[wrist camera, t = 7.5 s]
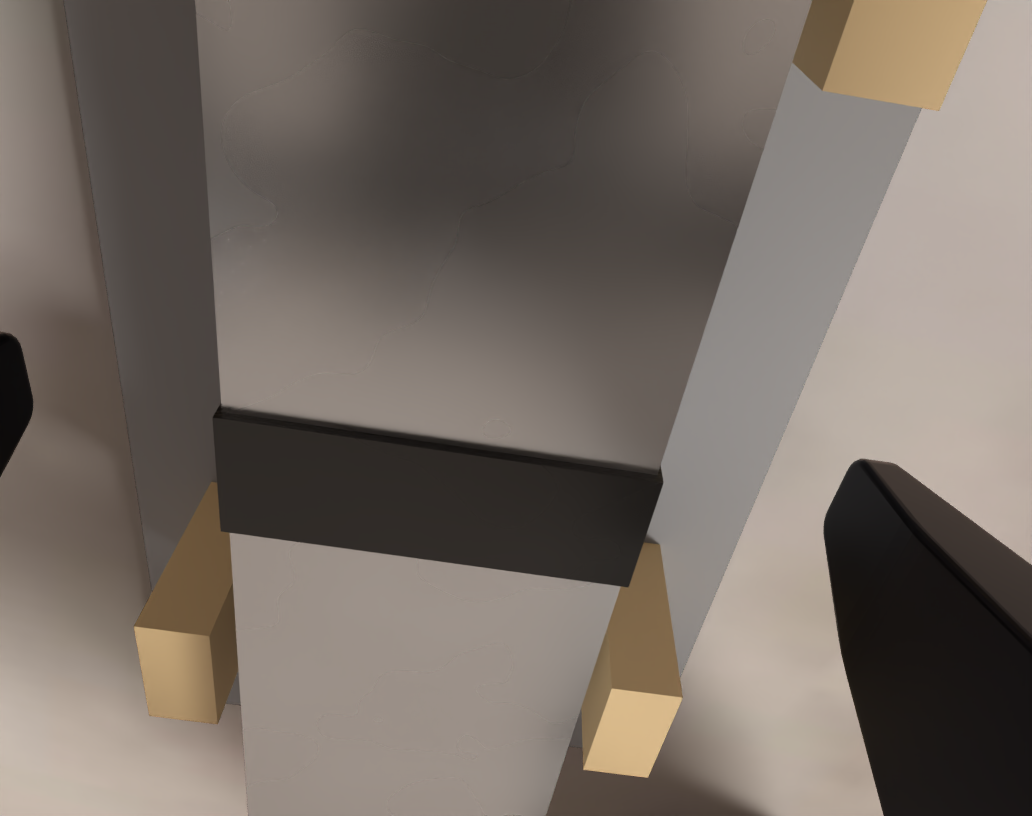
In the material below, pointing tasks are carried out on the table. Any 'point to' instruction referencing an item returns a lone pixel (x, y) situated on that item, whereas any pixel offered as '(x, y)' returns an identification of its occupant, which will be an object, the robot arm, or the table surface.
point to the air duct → (456, 361)
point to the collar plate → (705, 404)
